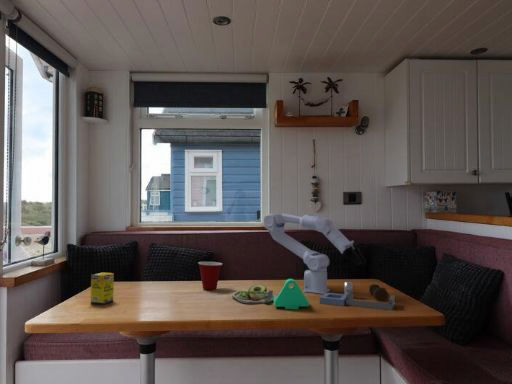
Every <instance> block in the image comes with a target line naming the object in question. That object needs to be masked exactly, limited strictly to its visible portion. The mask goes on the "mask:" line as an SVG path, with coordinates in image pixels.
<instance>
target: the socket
mask: <svg viewBox="0 0 512 384" xmlns="http://www.w3.org/2000/svg"><path fill="white" fill-rule="evenodd" d="M319 304H321V305H322V304H323V305H330V306H331V305H332V306H340V307H341V306H342V307H344V306H345V305H346V295H344V293H334V292H333V293H332V292H327V293H325V294H322V295H320V297H319Z"/></svg>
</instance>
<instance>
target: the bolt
mask: <svg viewBox="0 0 512 384" xmlns="http://www.w3.org/2000/svg"><path fill="white" fill-rule="evenodd" d="M368 291H369V293H370V294H371V296H374V298H375V301H376V302H378V301H379V302H386V301H387V300H388V299H389V297H390V295H389V292H388V291H387V290H386V288H385V287H380V286H379V284H374V283H373V284H371V285H369V287H368Z"/></svg>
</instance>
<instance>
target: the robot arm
mask: <svg viewBox="0 0 512 384" xmlns="http://www.w3.org/2000/svg"><path fill="white" fill-rule="evenodd" d="M287 223H289V224H290V223H292V224H298V225H301V227H302V228H304V229H309V230H314V231H317V232H319V233H322V234H323V235H324V236H325V238H327V240H328V241H330V242H331V244H332V245H333V246H334V247H335V248H337V250H338V251H339V252H340V253H341V256H340V257H343V258H346V259H347V260H349V261H350V262H352V263H353V264H355V265H356V266H360V265H361V266H364V265H365V264H366V263H367V261H366V259H365V258H364V256H363V254H362V253H361V250H360V248H359V246H355V247H354V246H353V245H354V243H355V241H354V240H351V241H350V240H349V239H348V238H347V237H346V236H345V235H344V234H343V233H342V232H341V231H340V230H339V229H338V228H337V227H336V226H335V225H334V224H333V221H332V219H330V218H328V217H321V215H317V216H313V215H311V214H310V213H307V214H305V215H302V216H298V215H294V214H289V213H267V214H266V215H265V216H264V218H263V224H264V225H263V226H264V228H265V229H266V230H267V231H268V233H269V234H270V236H271V237H272V239H273V240H274V241H275V242H277V243H278V244H280V245H281V246H283V247H284V248H286V249H288V250H289V251H291V252H292V253H293V254H295V255H296V256H298V257H299V258H300V259H302V260H303V263H304V264H305V265H306V266H307V268H308V269H306V270H304V276H303V293H314V294H322V295H324V294H325V293H329V292H330V291H331V289H330V288H328V272H327V271H328V270H327V268H328V267H329V265H330V259H329V256H328V255H326V254H324V253H320V252H318V251H316V250H311V249H310V248H308V247H307V246H305V245H304V244H302V243H301V242H299V241H298V240H296V239H295V238H293V237H292V236H290V235H288V234H287V233H285V227H286V225H285V224H287Z"/></svg>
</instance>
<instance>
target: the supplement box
mask: <svg viewBox="0 0 512 384" xmlns="http://www.w3.org/2000/svg"><path fill="white" fill-rule="evenodd" d="M114 274H115V273H114V272H113V273H112V272H100V273H99V272H98V273H94V274H91V275H90V277H91V278H90V279H91V281H90V304H91V305H100V306H104V305H106V304H109V303H113V302H114V285H115V283H114V279H115V277H114V276H115V275H114Z"/></svg>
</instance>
